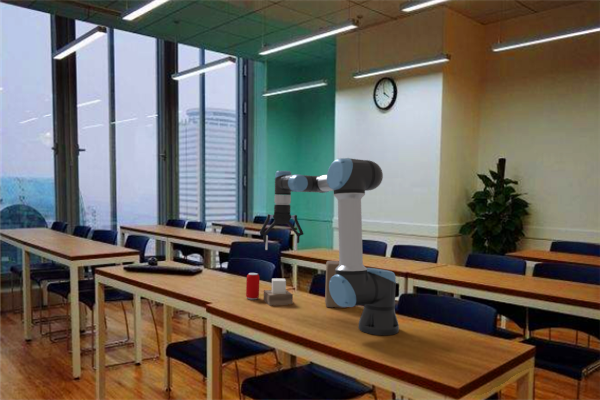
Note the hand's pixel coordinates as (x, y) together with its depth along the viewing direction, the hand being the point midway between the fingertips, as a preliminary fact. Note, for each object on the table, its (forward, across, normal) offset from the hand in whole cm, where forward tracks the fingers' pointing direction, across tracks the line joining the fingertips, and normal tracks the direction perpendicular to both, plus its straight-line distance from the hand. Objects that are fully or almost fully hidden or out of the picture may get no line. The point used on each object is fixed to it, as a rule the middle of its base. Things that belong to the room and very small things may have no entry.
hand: (281, 250), depth 212 cm
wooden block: (+25, -26, +5) cm, 36 cm away
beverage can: (+25, +12, -9) cm, 29 cm away
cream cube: (+20, 0, -1) cm, 20 cm away
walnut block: (+25, +1, -2) cm, 25 cm away
